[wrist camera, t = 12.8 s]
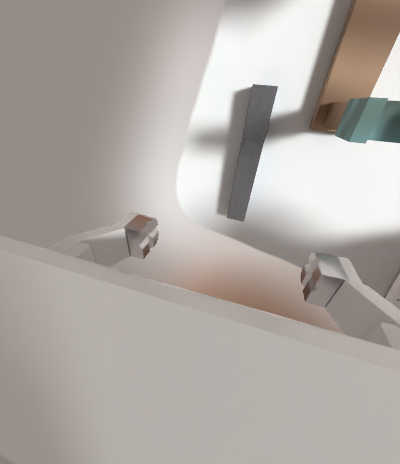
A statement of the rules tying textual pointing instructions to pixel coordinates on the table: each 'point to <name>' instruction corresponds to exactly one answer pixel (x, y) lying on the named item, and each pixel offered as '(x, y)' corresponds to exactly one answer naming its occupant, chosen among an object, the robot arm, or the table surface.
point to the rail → (251, 148)
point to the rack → (361, 76)
